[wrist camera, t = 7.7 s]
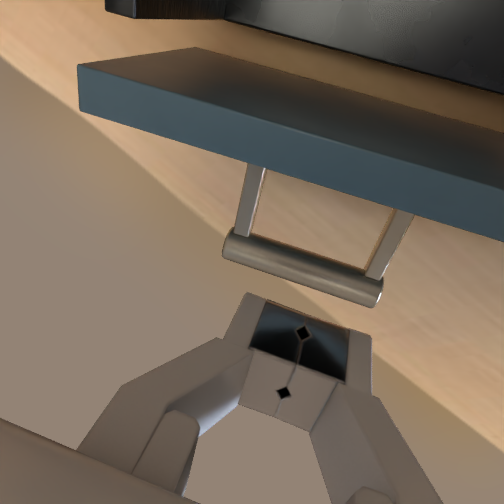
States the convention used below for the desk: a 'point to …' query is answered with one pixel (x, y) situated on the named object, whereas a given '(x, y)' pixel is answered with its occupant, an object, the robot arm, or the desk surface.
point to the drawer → (324, 119)
